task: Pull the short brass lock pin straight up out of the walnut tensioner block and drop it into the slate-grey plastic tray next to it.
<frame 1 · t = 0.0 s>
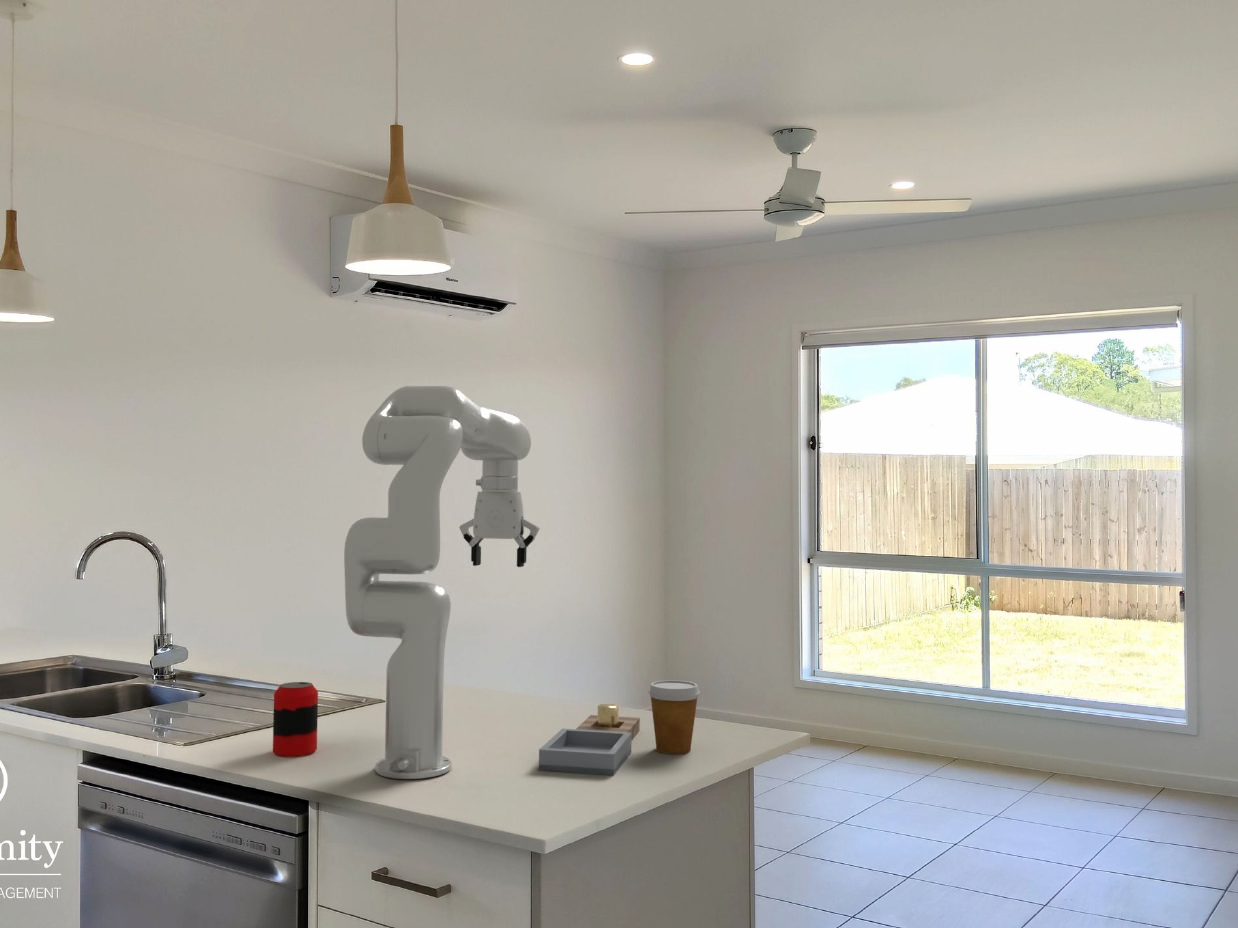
hand: (498, 565, 221), 31 cm above the counter, fingers open, 9 cm apart
lock pin: (607, 737, 201), resting in tensioner block
tensioner block: (607, 736, 201), on the counter
soda can: (294, 753, 187), on the counter
disposable coffee cup: (673, 750, 192), on the counter
slate tray: (586, 760, 183), on the counter
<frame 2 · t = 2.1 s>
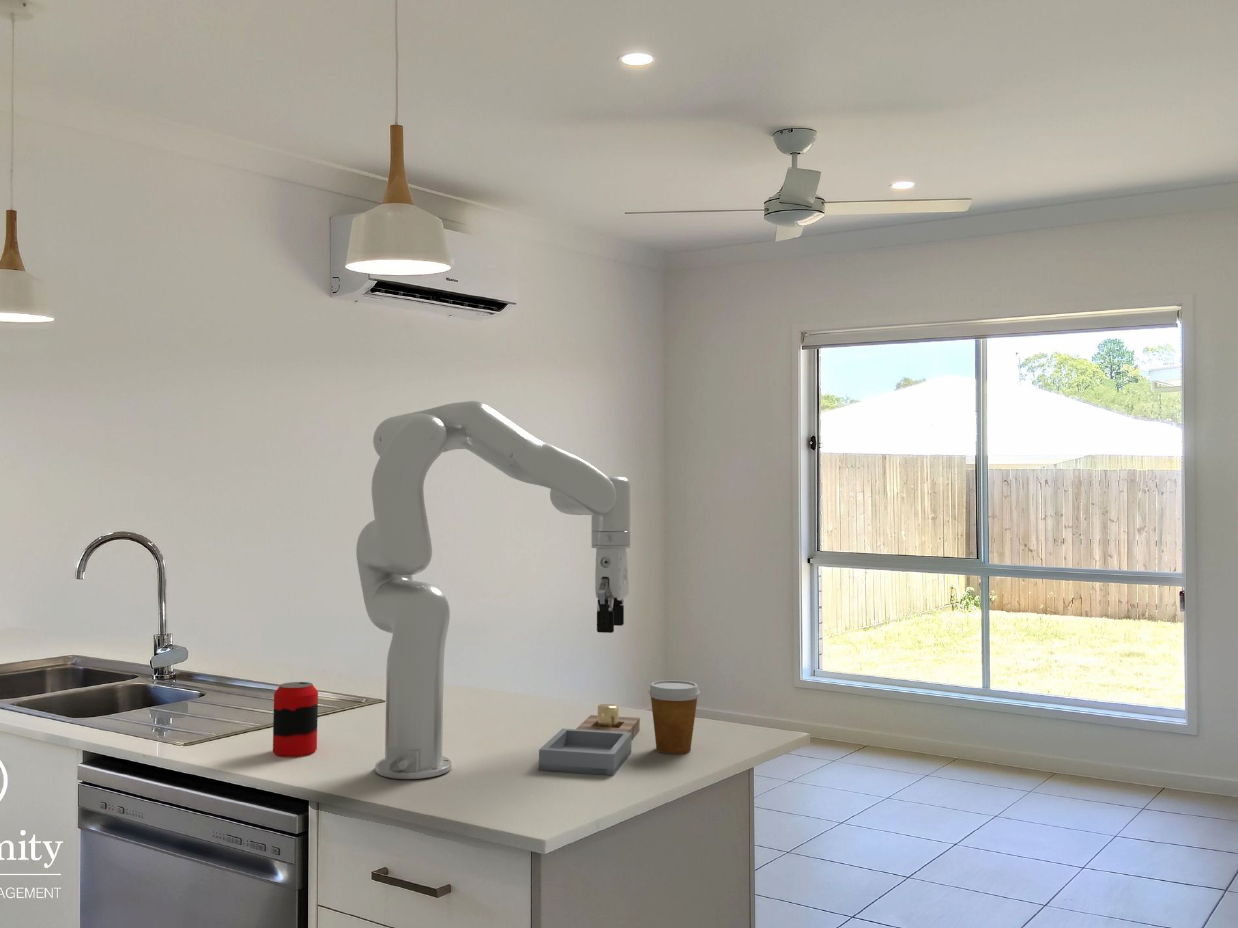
hand: (610, 628, 202), 21 cm above the counter, fingers open, 9 cm apart
nothing on the counter moved.
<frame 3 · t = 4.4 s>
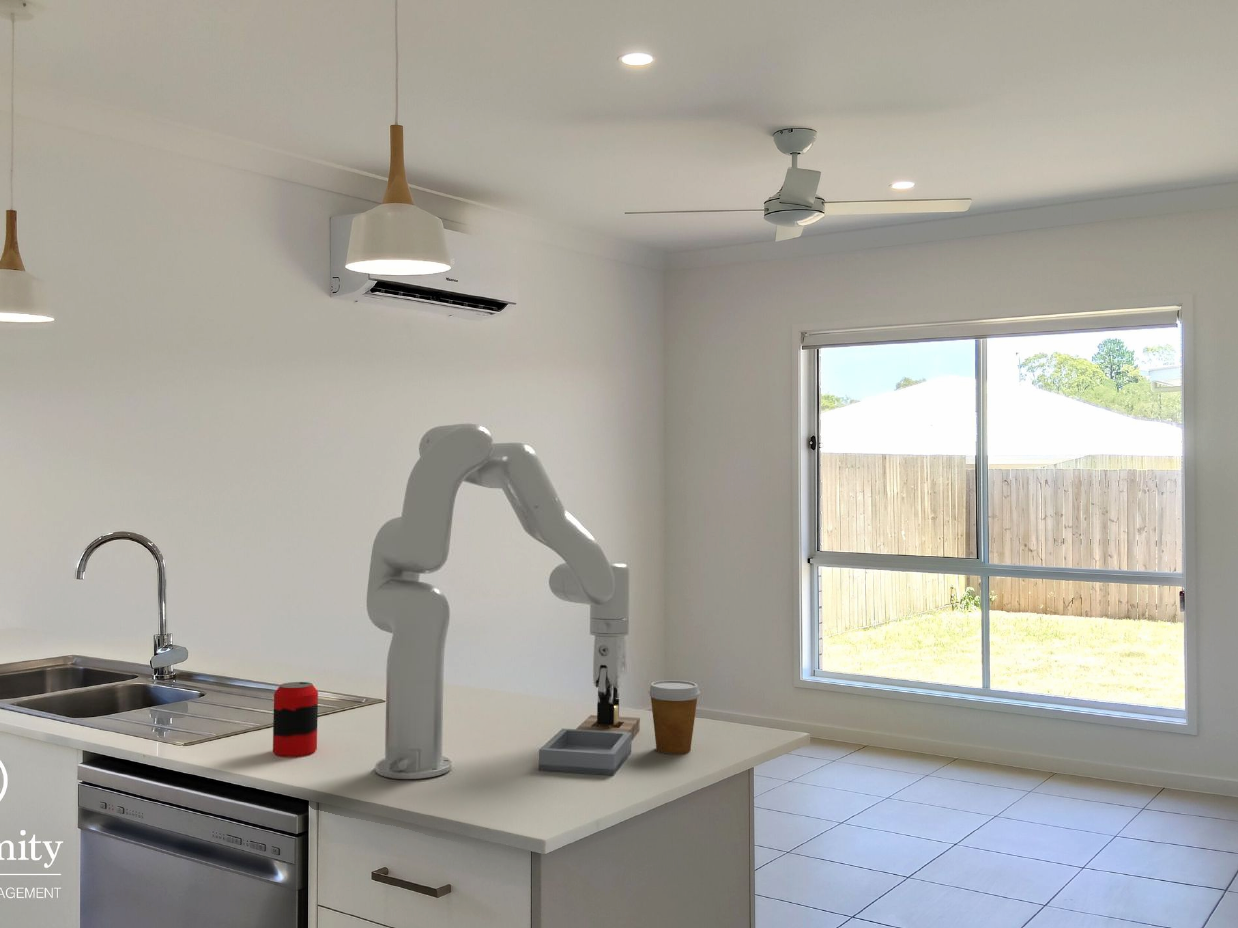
hand: (608, 720, 201), 3 cm above the counter, fingers closed on lock pin, 4 cm apart
lock pin: (607, 737, 201), resting in tensioner block, touching gripper
everything else where it was.
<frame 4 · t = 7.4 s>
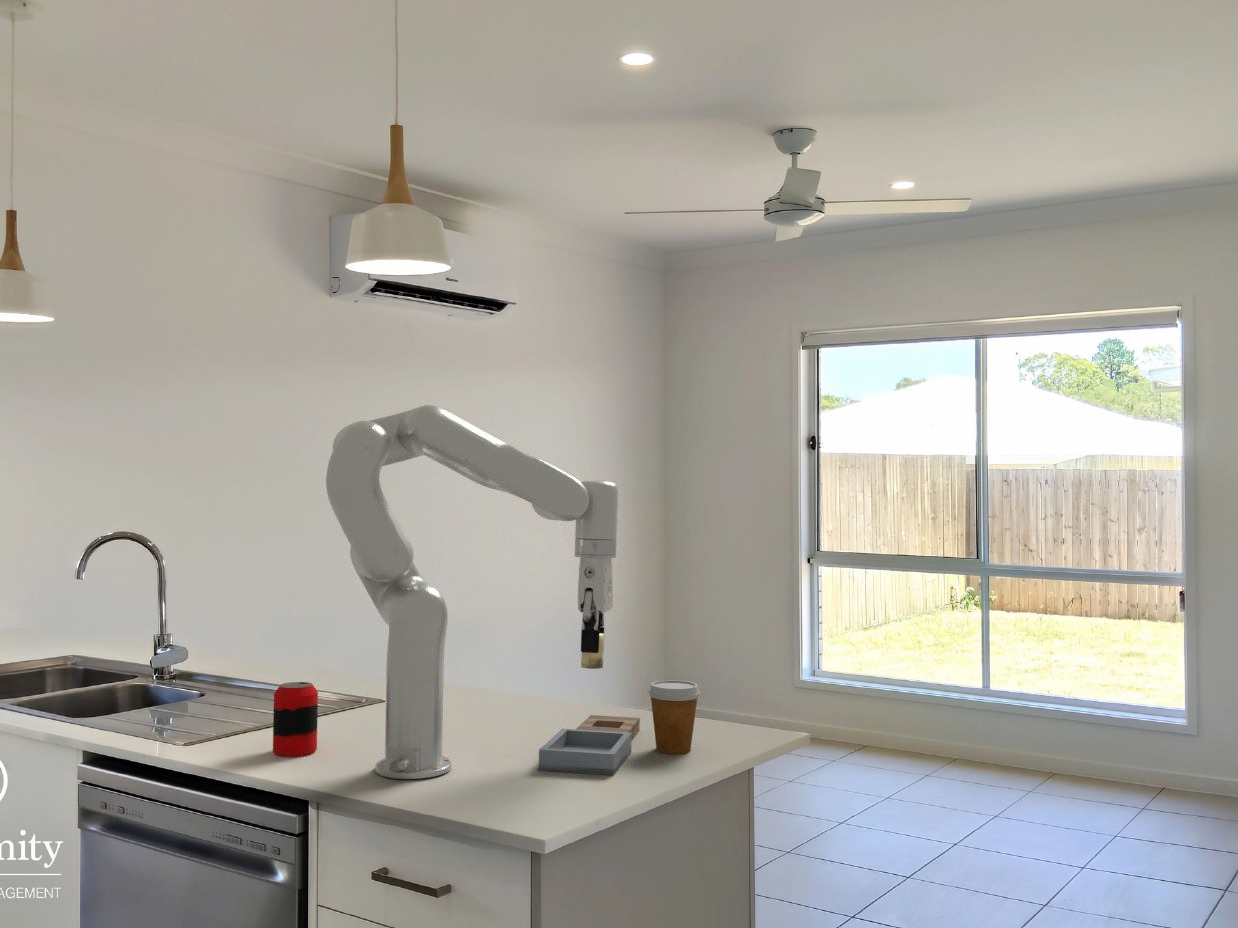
hand: (592, 649, 188), 19 cm above the counter, fingers closed on lock pin, 4 cm apart
lock pin: (592, 666, 188), point 16 cm above the counter, touching gripper
everything else where it was.
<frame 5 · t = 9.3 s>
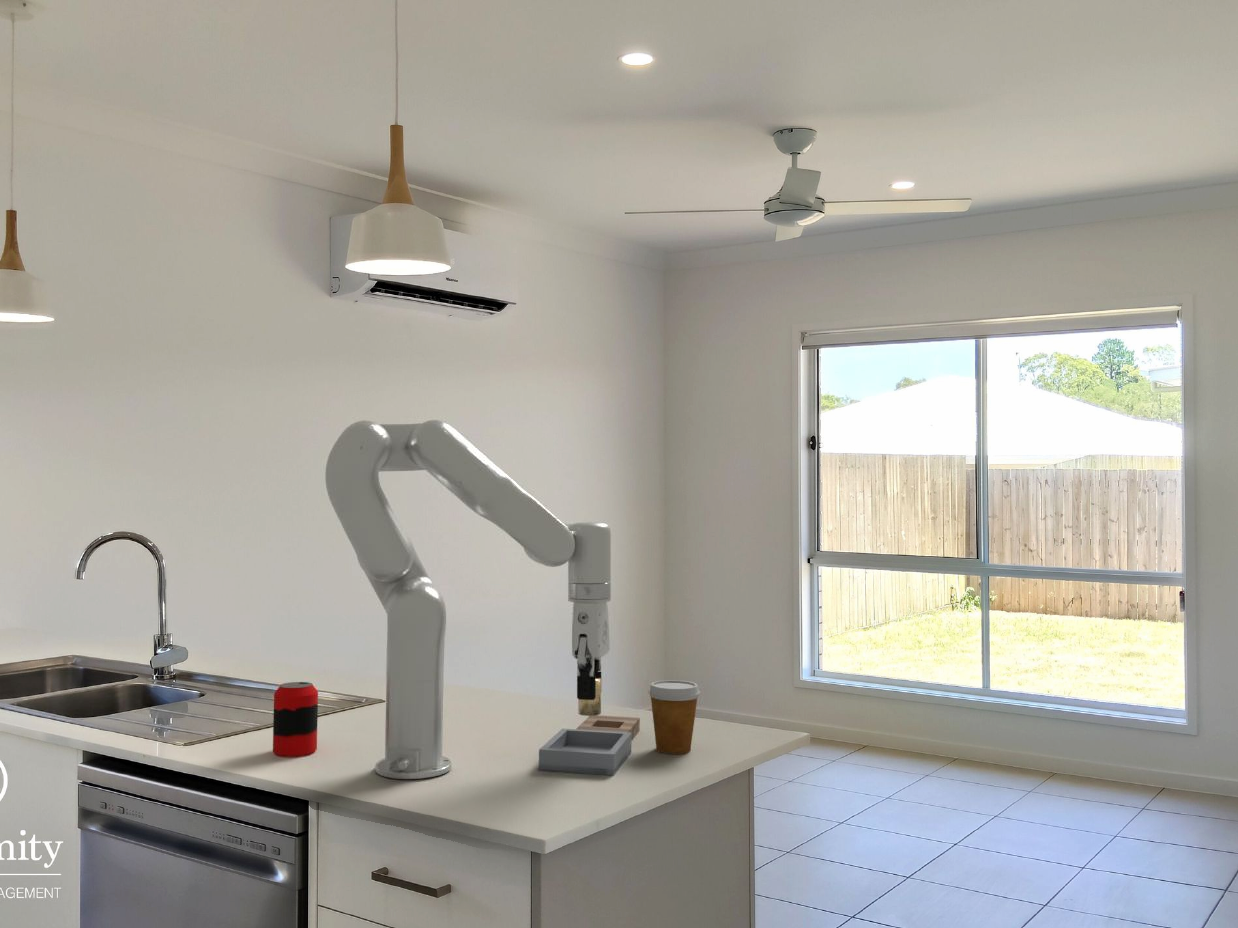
hand: (589, 695, 184), 11 cm above the counter, fingers closed on lock pin, 4 cm apart
lock pin: (589, 713, 184), point 8 cm above the counter, touching gripper
everything else where it was.
when the fingers open (6 cm above the counter, at t = 10.6 s): lock pin drops 2 cm, resting on slate tray.
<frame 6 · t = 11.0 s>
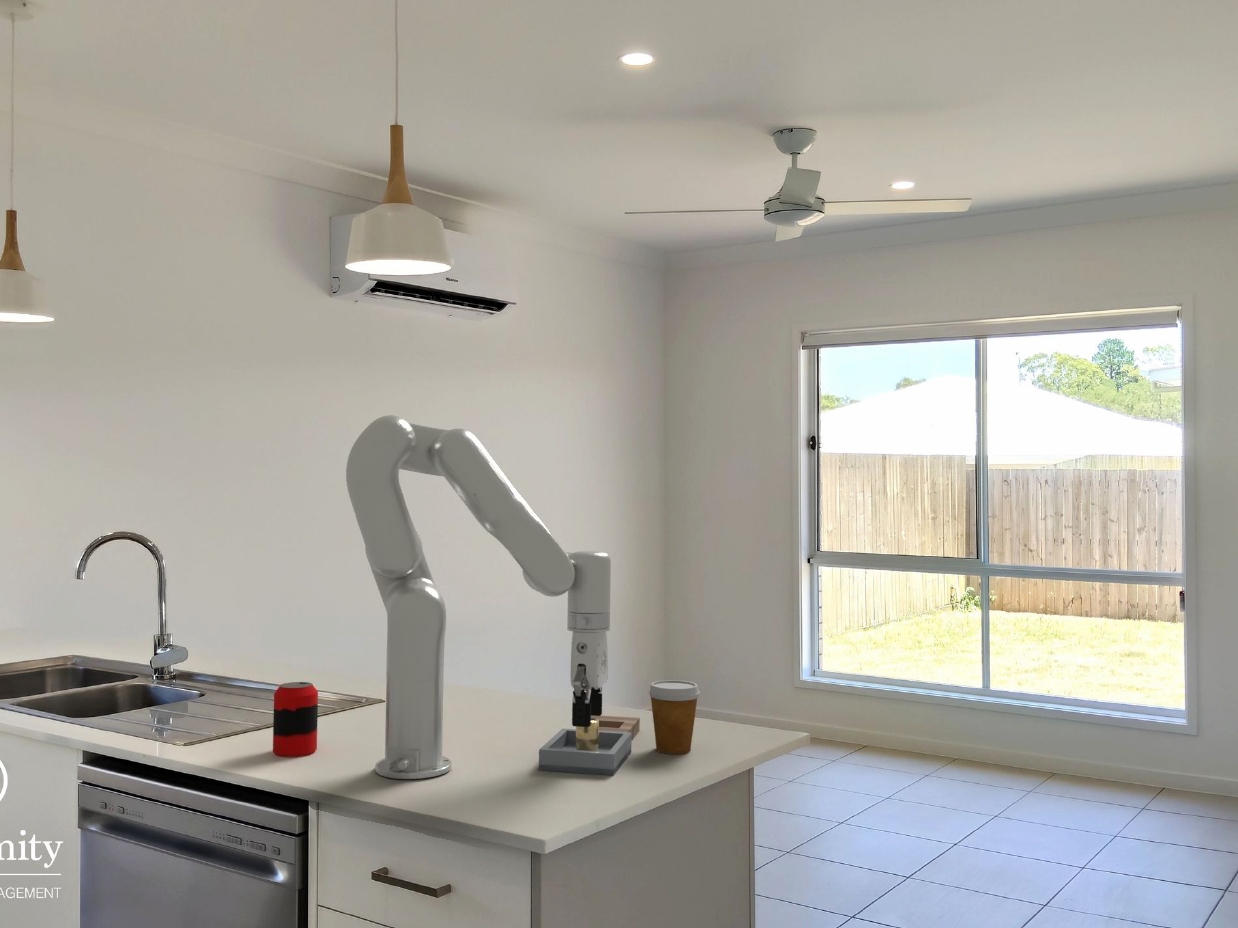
hand: (587, 720, 184), 7 cm above the counter, fingers open, 8 cm apart
lock pin: (587, 754, 184), point 1 cm above the counter, touching slate tray
everything else where it was.
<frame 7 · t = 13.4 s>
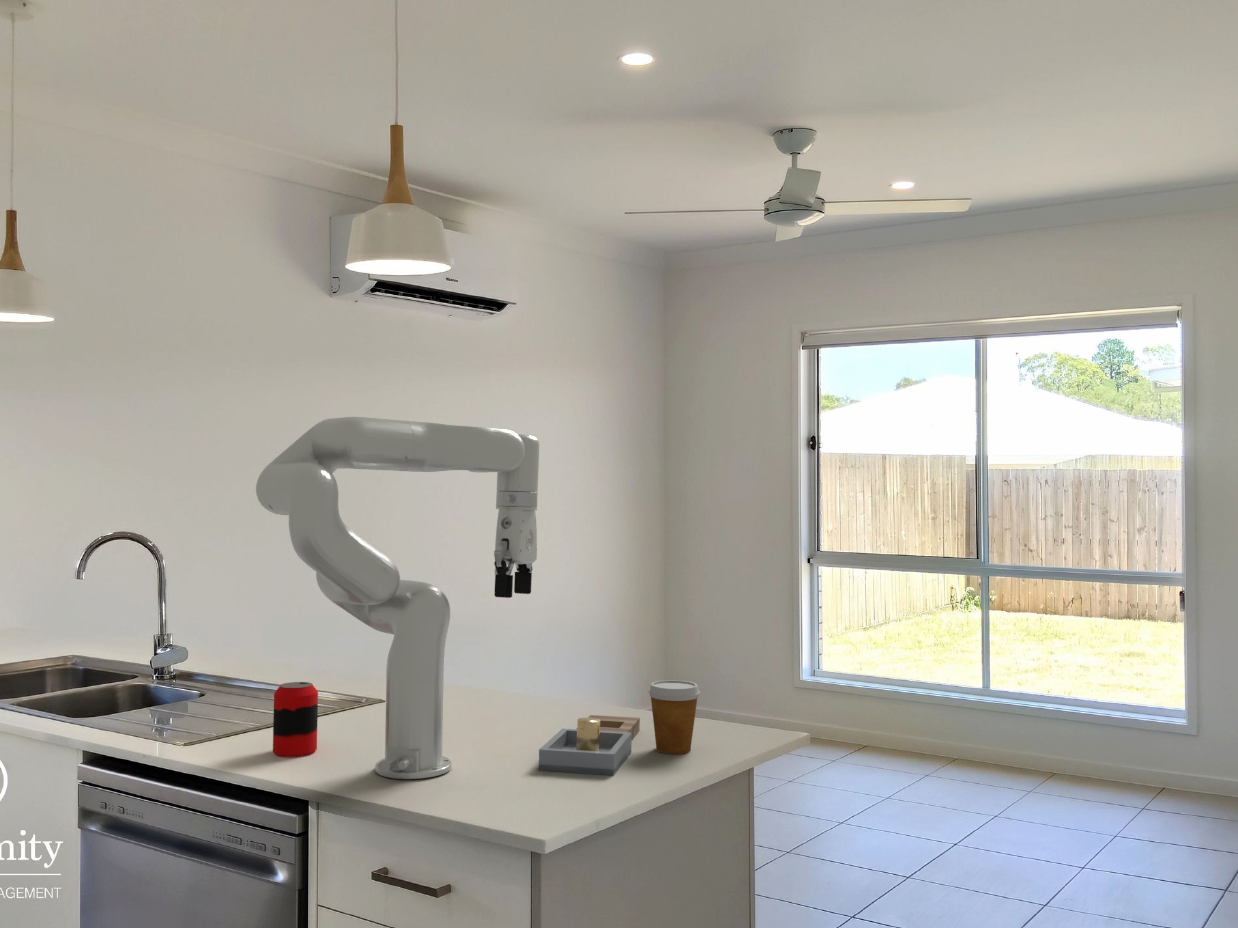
hand: (513, 595, 191), 28 cm above the counter, fingers open, 9 cm apart
nothing on the counter moved.
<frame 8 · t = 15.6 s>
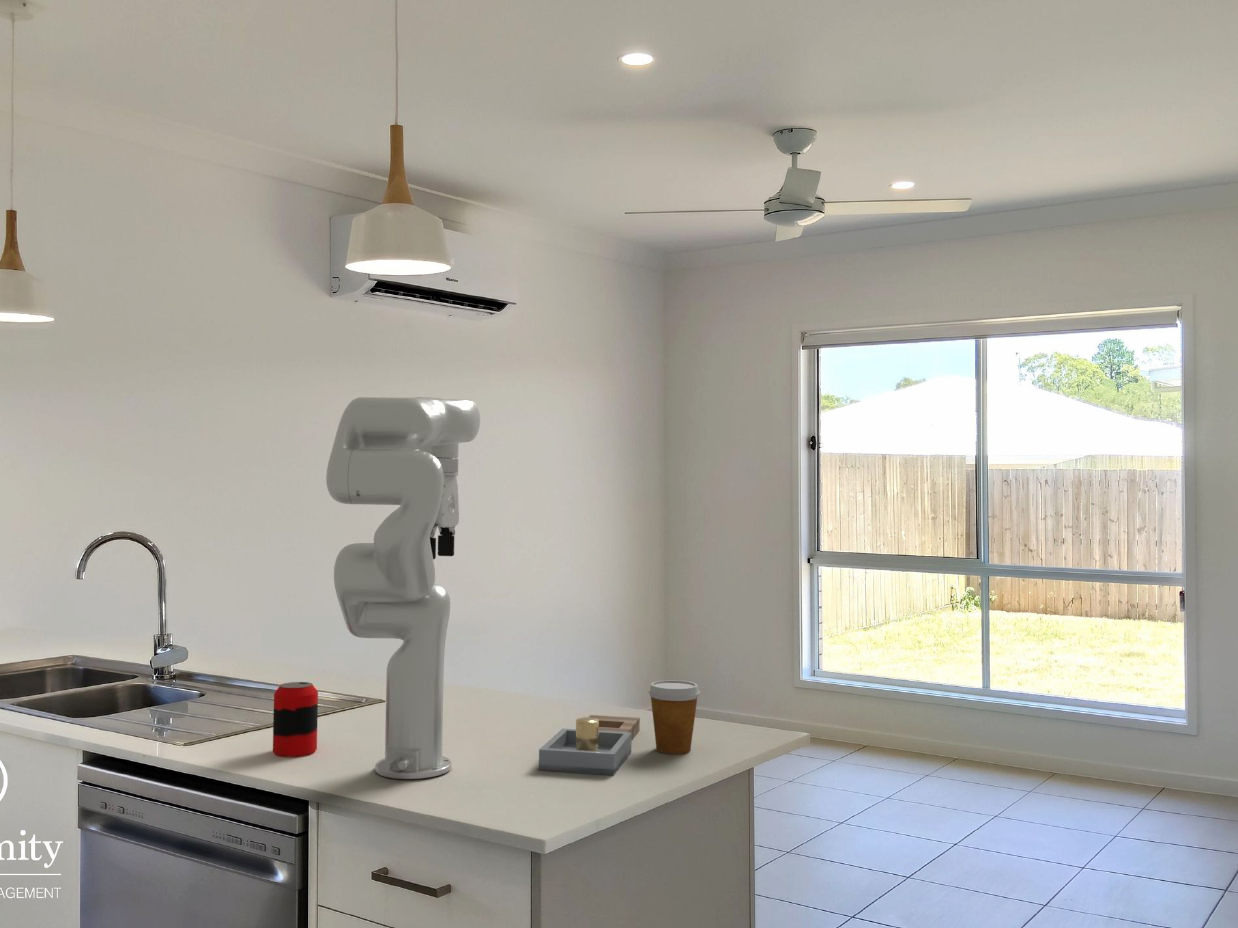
hand: (436, 557, 199), 34 cm above the counter, fingers open, 9 cm apart
nothing on the counter moved.
at the end: lock pin inside the target area on the slate tray (0.2 cm from its centre), point 1.1 cm above the slate tray's base; lock pin moved 17.8 cm from its start; the gripper is holding nothing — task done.
